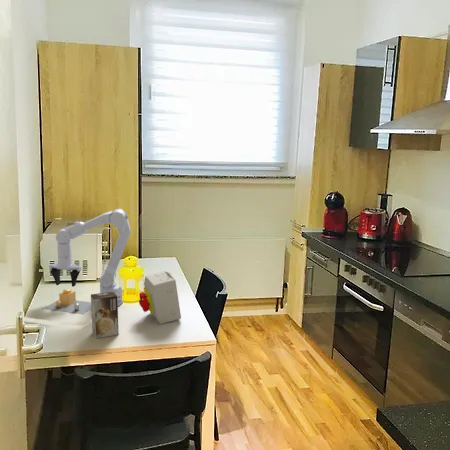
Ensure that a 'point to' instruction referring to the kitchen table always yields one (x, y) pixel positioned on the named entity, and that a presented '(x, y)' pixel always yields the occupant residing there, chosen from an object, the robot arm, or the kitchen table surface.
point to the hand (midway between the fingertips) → (65, 285)
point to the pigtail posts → (58, 305)
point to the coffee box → (104, 314)
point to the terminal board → (71, 307)
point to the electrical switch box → (161, 297)
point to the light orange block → (67, 297)
